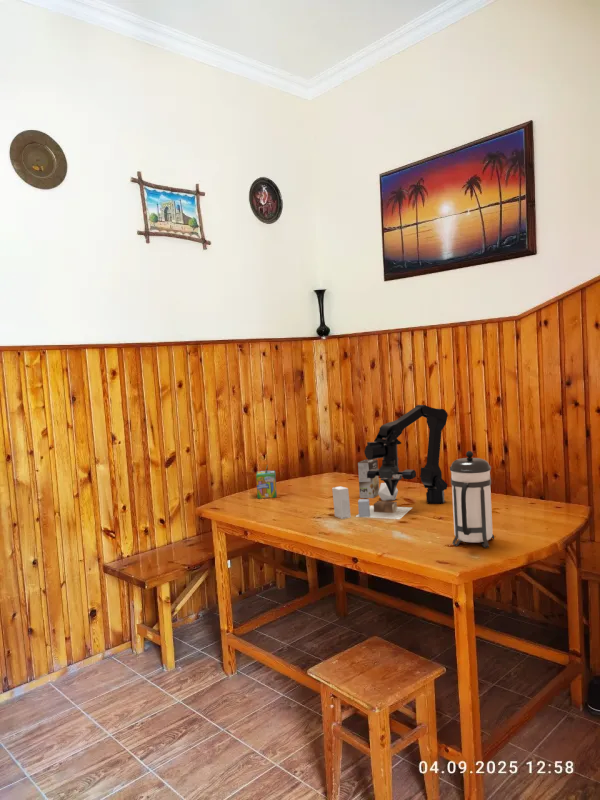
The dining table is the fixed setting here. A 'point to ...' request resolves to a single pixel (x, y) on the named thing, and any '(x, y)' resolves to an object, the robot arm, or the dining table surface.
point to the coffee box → (368, 479)
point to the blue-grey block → (364, 508)
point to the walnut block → (385, 506)
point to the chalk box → (266, 484)
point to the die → (386, 493)
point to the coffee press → (471, 500)
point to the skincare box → (341, 502)
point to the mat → (396, 515)
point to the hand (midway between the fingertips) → (392, 495)
